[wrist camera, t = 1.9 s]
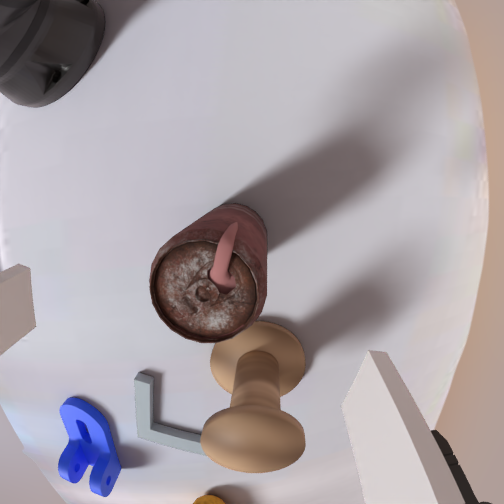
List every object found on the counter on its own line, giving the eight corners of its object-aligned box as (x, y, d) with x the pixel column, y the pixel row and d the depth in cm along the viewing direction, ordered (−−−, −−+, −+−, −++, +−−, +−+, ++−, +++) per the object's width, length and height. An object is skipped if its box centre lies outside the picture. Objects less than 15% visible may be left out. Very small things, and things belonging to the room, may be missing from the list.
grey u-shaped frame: (138, 372, 32) (134, 379, 31) (259, 401, 32) (259, 409, 31) (140, 430, 35) (137, 437, 34) (241, 454, 35) (240, 462, 34)
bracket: (121, 468, 40) (106, 502, 31) (83, 453, 40) (65, 484, 31) (104, 407, 35) (79, 448, 26) (60, 389, 35) (32, 424, 26)
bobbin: (219, 311, 29) (192, 391, 18) (315, 330, 30) (338, 413, 18) (206, 384, 32) (184, 466, 20) (290, 399, 32) (296, 482, 20)
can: (275, 210, 27) (284, 247, 13) (256, 275, 28) (247, 362, 15) (210, 192, 27) (154, 212, 13) (195, 257, 28) (136, 329, 15)
